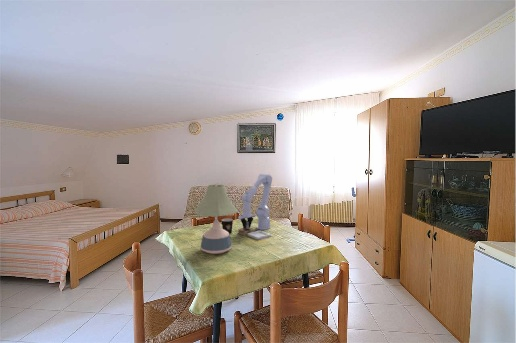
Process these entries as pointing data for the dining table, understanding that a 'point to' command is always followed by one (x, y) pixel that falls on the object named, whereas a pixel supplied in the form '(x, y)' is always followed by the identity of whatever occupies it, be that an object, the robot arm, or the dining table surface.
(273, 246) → the dining table surface
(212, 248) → the desk lamp
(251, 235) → the tray
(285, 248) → the dining table surface
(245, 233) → the hitch block
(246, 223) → the pin
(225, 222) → the coffee mug
